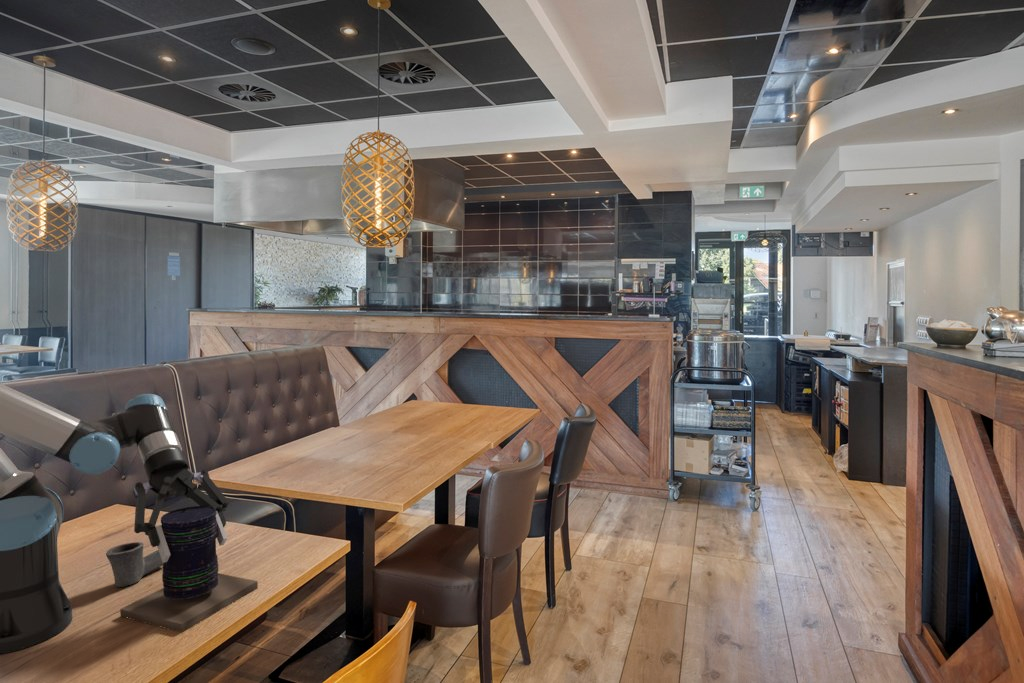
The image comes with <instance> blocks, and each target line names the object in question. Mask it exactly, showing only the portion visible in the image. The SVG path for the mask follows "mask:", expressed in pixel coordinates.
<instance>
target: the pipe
mask: <svg viewBox="0 0 1024 683" xmlns="http://www.w3.org/2000/svg"><path fill="white" fill-rule="evenodd" d="M144 546H145V544H144V542H141V541H134V542H126V543H123V544H119V545H116V546H114V547H111V548H109V549H108V550H107V551H106V553H105V556H106V558H107V560H108V562H109V563H110V566H111V570H112V573H113V576H114V584H115V586H116V587H119V588H120V587H121V588H123V587H124V586H125V587H128V585H129V586H131V585H134V584H136V583H138V582H140V581H141V579H142V578H143V577H144V576H146V575H148V574H150V573H152V572H154V571H155V570H157V569H159V568H160V567H163V564H164V563H163V562H162V559H161V556H160V553H159V550H158V549H157V550H155V551H153V552H151V553H149V554H147V555H146V556H144Z"/></svg>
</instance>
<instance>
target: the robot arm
mask: <svg viewBox="0 0 1024 683" xmlns="http://www.w3.org/2000/svg"><path fill="white" fill-rule="evenodd" d="M0 434H1V435H4V436H5V437H8V438H10V439H13V440H15V441H17V442H20V443H23V444H25V445H27V446H30V447H32V448H35V449H37V450H39V451H42V452H43V453H47V454H49V455H51V456H54V457H56V458H57V459H60V460H62V461H64V462H67V463H70V464H71V466H72V467H73V468H75V470H76V471H78V472H80V473H81V474H85V475H98V474H102V473H104V472H106V471H108V470H109V469H111V468H112V467H113V466H114V465H115V464H116V462H117V461H118V459H119V456H120V454H121V450H124V449H126V448H130V447H133V446H136V447H137V450H138V452H139V455H140V458H141V461H142V464H143V467H144V470H145V473H146V477H147V479H148V482H144V483H142V482H140V481H138V482H136V483H135V485H134V488H133V491H132V493H133V496H134V497H135V510H134V512H135V513H134V529H133V530H134V533H136V534H140V533H144V535H145V536H148V540H149V543H150V545H151V547H152V548H156V547H157V550H159V553H160V556H161V559H162V562H163V563H165V562H167V561H168V559H169V557H170V555H171V554H170V551H169V548H168V545H167V542H166V539H165V536H164V533H163V530H162V527H161V525H162V524H159V525H156V524H157V522H158V518H159V516H160V514H161V510H162V507H163V505H164V504H163V503H164V500H165V498H166V500H169V499H173V498H174V497H183V496H185V497H186V498H188V499H191V500H192V501H193V502H195V503H196V504H197V505H198V506H209V507H213V508H215V509H216V522H217V538H216V539H217V542H218V544H219V546H220V547H221V546H224V545H225V543H226V541H227V540H228V535H227V533H226V531H225V527H226V525H227V521H226V518H225V516H224V513H223V512H226V511H227V508H228V507H229V505H230V501H229V500H228V499H227V497H226V496H225V495H224V494H223V492H222V491H221V490H220V489H219V488H218V486H217V485H216V483H215V482H214V481H213V480H212V479H211V478H210V475H209V472H208V469H202V470H201V472H193V471H192V470H191V469H190V468H189V463H188V461H187V458H186V456H185V453H184V452H183V448H182V444H181V442H180V440H179V437H178V435H177V433H176V430H175V426H174V424H173V421H172V419H171V415H170V412H169V410H168V408H167V405H166V403H165V401H164V400H163V398H162V397H161V396H159V395H157V394H153V393H143V394H139V395H135V397H134V398H132V399H129V400H127V402H126V404H125V406H124V411H122V412H120V413H118V414H114V415H112V416H108V417H104V418H100V419H97V420H93V421H90V422H86V421H83V420H81V419H80V418H77V417H75V416H73V415H72V414H68V413H66V412H65V411H62V410H60V409H58V408H55V407H53V406H52V405H49V404H46V403H44V402H42V401H40V400H38V399H36V398H34V397H31V396H29V395H27V394H26V393H25V394H24V393H22V392H20V391H18V390H16V389H14V388H11V387H9V386H7V385H6V384H3V383H1V382H0ZM193 481H195V482H197V484H199V485H200V487H201V488H202V489H203V490H204V492H205V493H204V492H203V491H202V490H201V489H200V488H198V486H197V485H196V483H194V482H193ZM149 490H150V491H152V492H153V493H155V494H157V497H156V500H155V503H154V505H153V509H152V511H151V515H150V518H149V521H148V522H145V516H146V513H145V511H146V495H147V494H148V491H149ZM63 505H64V504H63V501H62V500H61V498H60V496H59V495H58V494H57V493H56V492H54V490H53V489H50V488H48V487H46V486H44V485H43V483H42V482H41V481H40V479H38V477H37V476H36V474H35V473H34V472H32V471H23V470H19V469H18V468H17V466H16V465H15V464H14V463H13V461H12V460H11V459H10V458H9V457H8V455H7V454H6V452H4V450H3V449H2V448H1V447H0V655H1V654H6V653H11V652H15V651H18V650H22V649H25V648H28V647H31V646H34V645H37V644H39V643H42V642H44V641H47V640H48V639H50V638H52V637H54V636H56V635H58V634H59V633H61V632H63V631H64V630H65V629H66V628H68V627H69V625H70V624H71V623H72V621H73V616H74V615H73V606H72V603H71V602H70V599H69V598H68V595H67V594H66V592H65V590H64V588H63V586H62V584H61V582H60V577H59V557H58V556H59V555H58V536H59V532H60V528H61V526H62V524H63V521H64V514H65V513H64V512H65V511H64V506H63Z"/></svg>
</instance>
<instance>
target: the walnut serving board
mask: <svg viewBox="0 0 1024 683" xmlns="http://www.w3.org/2000/svg"><path fill="white" fill-rule="evenodd" d="M217 578H218V585H217V586H216V587H215V588H214V589H213V590H211V591H210V592H208V593H205V594H203V595H200V596H197V597H193V598H188V599H169V598H167V597H165V596H164V593H163V590H164V587H162V588H161V589H158V590H156V591H154V592H152V593H150V594H148V595H146V596H145V597H142V598H139V599H137V600H135V601H134V602H132V603H129V604H128V605H125V606H124V607H121V608H120V609H119V613H120V617H121V616H124V617H128V618H131V619H130V620H132V619H134V620H133V621H136V620H137V621H136V622H140V621H142V622H141V623H143V622H146V623H145V624H147V623H150V624H149V625H151V624H154V625H153V626H155V625H157V627H159V626H162V627H161V628H163V627H165V628H164V629H167V628H169V629H168V630H171V629H172V631H176V632H180V633H184V632H185V631H187V630H189V629H190V628H192V627H194V626H195V624H196V625H197V624H199V623H201V622H202V621H204V620H206V619H208V618H209V617H211V616H213V615H214V614H216V613H218V612H220V611H221V610H223V609H225V608H226V607H228V606H229V604H230V605H231V604H233V603H234V602H236V600H237V601H238V600H240V599H242V598H243V597H245V596H247V595H248V594H251V593H252V592H254V591H255V590H257V589H258V588H259V587H258V586H259V585H258V583H259V582H258V580H253V579H248V578H243V577H239V576H233V575H229V574H223V573H219V572H218V576H217ZM241 597H242V598H241ZM232 602H233V603H232ZM225 606H226V607H225ZM224 607H225V608H224ZM222 608H223V609H222ZM220 609H221V610H220ZM217 611H218V612H217ZM212 614H213V615H212ZM124 617H123V618H124ZM128 618H127V619H128ZM200 621H201V622H200ZM198 622H199V623H198ZM193 625H194V626H193Z"/></svg>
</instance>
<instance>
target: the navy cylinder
mask: <svg viewBox="0 0 1024 683" xmlns="http://www.w3.org/2000/svg"><path fill="white" fill-rule="evenodd" d="M160 525H161V527H162V530H163V533H164V536H165V539H166V542H167V545H168V548H169V551H170V554H171V555H170V557H169V559H168V561H167V562H165V563H164V564H163V565H162V574H161V579H162V583H163V584H162V588H164V590H163V593H164V596H165V597H167V598H169V599H188V598H193V597H197V596H200V595H203V594H205V593H208V592H210V591H211V590H213V589H214V588H215V587H216V586H217V585H218V578H217V576H218V573H219V563H218V559H219V558H218V555H217V545H216V544H217V543H216V539H217V522H216V509H215V508H213V507H209V506H200V505H196V506H195V505H194V506H187V507H183V508H179V509H174V510H172V511H169V512H167V513H165V514H163V515H162V516H161V517H160Z"/></svg>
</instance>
